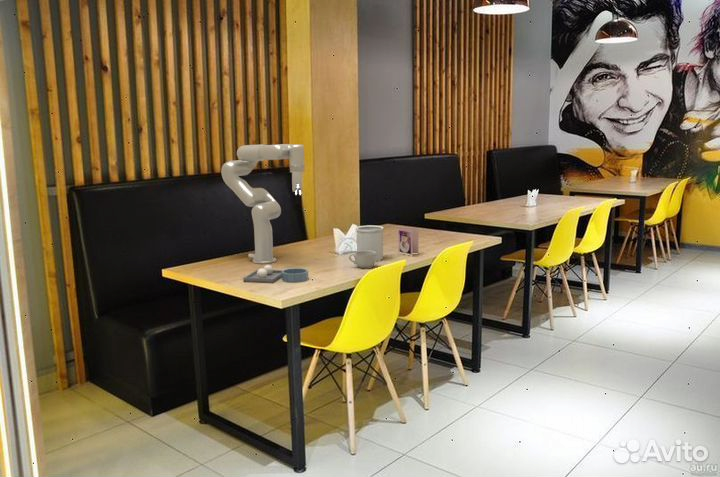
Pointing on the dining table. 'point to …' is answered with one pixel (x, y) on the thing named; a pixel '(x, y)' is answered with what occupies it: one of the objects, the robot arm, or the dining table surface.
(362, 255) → the teacup
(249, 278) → the parts tray
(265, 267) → the pebble
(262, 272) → the pebble
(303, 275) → the bowl
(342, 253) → the dining table surface
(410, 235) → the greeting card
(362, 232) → the utensil holder
